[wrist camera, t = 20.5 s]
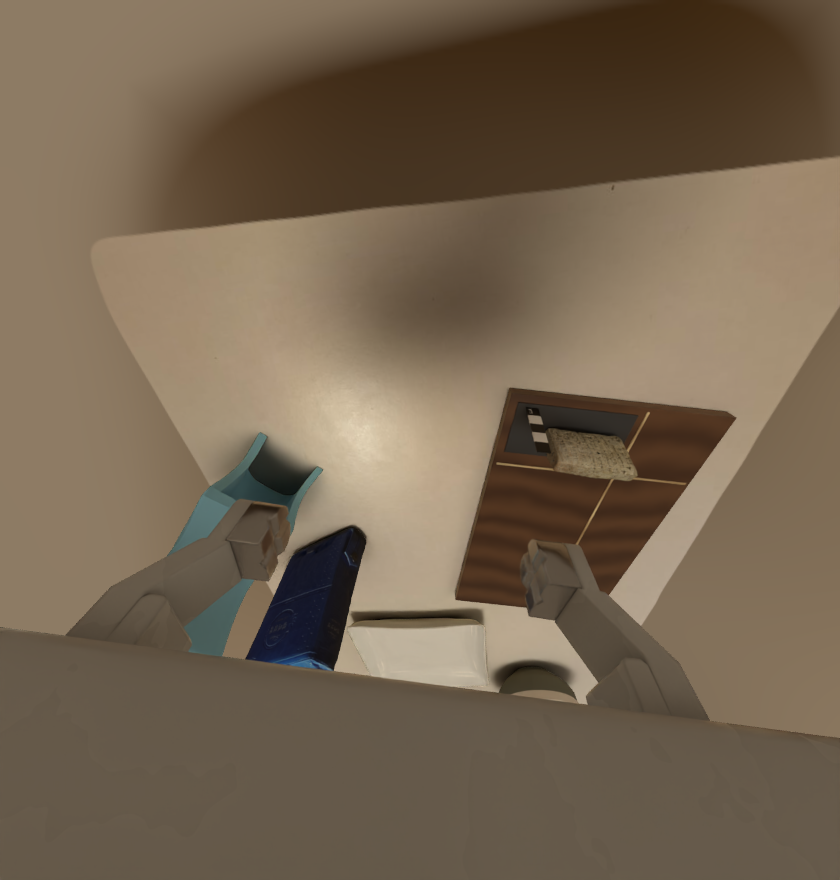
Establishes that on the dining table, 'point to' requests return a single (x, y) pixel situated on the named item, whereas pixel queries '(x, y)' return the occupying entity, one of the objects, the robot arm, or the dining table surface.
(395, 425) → the dining table surface
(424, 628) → the square plate
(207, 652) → the light blue toy chair
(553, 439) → the cuneiform tablet
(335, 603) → the book
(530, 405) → the board
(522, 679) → the bowl
